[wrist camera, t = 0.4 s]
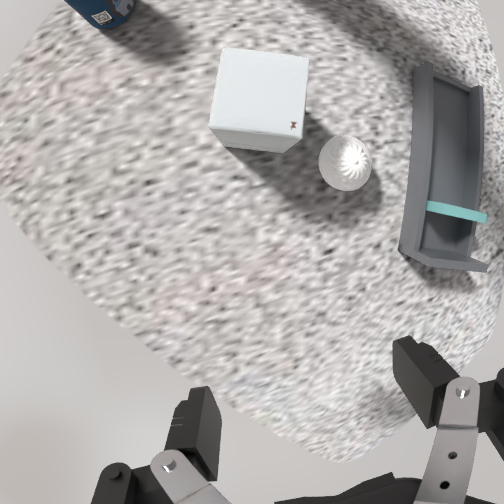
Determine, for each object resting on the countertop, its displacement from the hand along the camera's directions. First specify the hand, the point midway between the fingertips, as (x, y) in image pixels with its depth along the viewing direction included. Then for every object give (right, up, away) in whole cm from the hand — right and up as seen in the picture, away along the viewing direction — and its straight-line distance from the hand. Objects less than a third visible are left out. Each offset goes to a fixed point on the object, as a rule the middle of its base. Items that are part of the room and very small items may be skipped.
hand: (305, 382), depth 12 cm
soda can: (-21, +38, +17) cm, 47 cm away
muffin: (+8, +16, +23) cm, 29 cm away
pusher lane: (+23, +17, +23) cm, 37 cm away
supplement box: (-2, +21, +22) cm, 30 cm away
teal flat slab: (+22, +11, +23) cm, 34 cm away
